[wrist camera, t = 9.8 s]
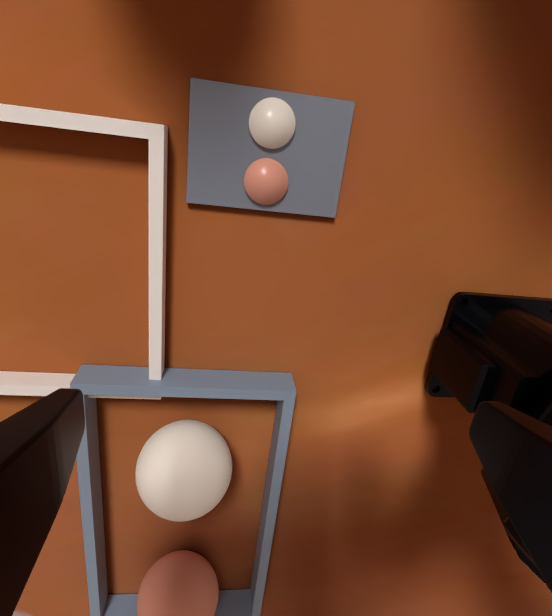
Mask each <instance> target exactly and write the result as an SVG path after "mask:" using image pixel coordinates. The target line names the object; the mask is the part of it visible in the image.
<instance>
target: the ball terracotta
mask: <svg viewBox="0 0 552 616" xmlns="http://www.w3.org/2000/svg"><path fill="white" fill-rule="evenodd" d="M218 596H219V590H218V582H217V577H216V574H215V572H214V570H213V568H212V566H211V565H210V563H209V562H208V561H207V560H206V559H205V558H204V557H203V556H201V555H200V554H198V553H195V552H193V551H189V550H178V551H173V552H171V553H168V554H166V555H164V556H162V557H161V558H160V559H158V560H157V561H156V562H155V563H154V564H153V565H152V566H151V567H150V569H149V570H148V571H147V573H146V574H145V576H144V578H143V580H142V582H141V585H140V588H139V591H138V596H137V615H138V616H214V614H215V611H216V608H217V603H218Z"/></svg>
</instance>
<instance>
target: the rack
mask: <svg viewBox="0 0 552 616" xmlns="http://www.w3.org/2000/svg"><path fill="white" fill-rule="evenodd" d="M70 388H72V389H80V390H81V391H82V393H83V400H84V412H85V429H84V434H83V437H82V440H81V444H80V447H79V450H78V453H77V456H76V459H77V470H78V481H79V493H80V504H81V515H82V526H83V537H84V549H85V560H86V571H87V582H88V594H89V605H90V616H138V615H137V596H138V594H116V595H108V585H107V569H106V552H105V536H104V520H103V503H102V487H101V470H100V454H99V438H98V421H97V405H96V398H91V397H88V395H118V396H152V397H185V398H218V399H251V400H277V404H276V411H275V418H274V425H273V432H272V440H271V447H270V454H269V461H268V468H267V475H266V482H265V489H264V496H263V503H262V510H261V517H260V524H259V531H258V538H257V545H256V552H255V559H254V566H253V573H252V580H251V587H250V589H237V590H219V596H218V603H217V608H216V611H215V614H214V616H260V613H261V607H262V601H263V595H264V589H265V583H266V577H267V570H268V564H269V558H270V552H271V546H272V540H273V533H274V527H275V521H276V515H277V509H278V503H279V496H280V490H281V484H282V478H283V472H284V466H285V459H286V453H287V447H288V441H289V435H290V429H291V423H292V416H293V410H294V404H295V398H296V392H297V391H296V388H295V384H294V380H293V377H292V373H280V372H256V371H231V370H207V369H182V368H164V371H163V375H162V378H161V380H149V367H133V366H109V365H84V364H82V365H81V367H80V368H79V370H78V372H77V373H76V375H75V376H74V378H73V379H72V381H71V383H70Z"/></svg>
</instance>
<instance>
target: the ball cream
mask: <svg viewBox="0 0 552 616" xmlns="http://www.w3.org/2000/svg"><path fill="white" fill-rule="evenodd" d="M135 475H136V485H137V489H138V492H139V495H140V497H141V499H142V501H143V502H144V503H145V505H146V506H147V507H148V508H149V509H150V510H151V511H152V512H153V513H155V514H156V515H157V516H159V517H161V518H164V519H167V520H170V521H177V522H183V521H190V520H194V519H197V518H199V517H201V516H203V515H205V514H207V513H208V512H210V511H211V510H212V509H213V508H214V507H215V506H216V505H217V504H218V503H219V502H220V501H221V499H222V498H223V496H224V495H225V493H226V491H227V489H228V486H229V484H230V481H231V476H232V458H231V453H230V450H229V447H228V445H227V443H226V441H225V439H224V438H223V437H222V435H221V434H220V433H219V432H218V431H217V430H216V429H214V428H213V427H211V426H210V425H208V424H206V423H203V422H200V421H196V420H180V421H175V422H172V423H170V424H167V425H165V426H163V427H162V428H160V429H159V430H158V431H156V432H155V433H154V434H153V435H152V436H151V437H150V438H149V439H148V441H147V442H146V443H145V445H144V446H143V448H142V450H141V452H140V454H139V457H138V460H137V464H136V473H135Z"/></svg>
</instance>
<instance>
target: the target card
mask: <svg viewBox="0 0 552 616" xmlns="http://www.w3.org/2000/svg"><path fill="white" fill-rule="evenodd" d="M354 106H355V102H353V101H346V100H339V99H332V98H326V97H319V96H312V95H305V94H299V93H292V92H285V91H278V90H272V89H265V88H258V87H251V86H245V85H238V84H231V83H224V82H218V81H211V80H204V79H197V78H190V108H189V138H188V169H187V199H186V203H195V204H205V205H215V206H224V207H234V208H244V209H254V210H264V211H274V212H283V213H293V214H303V215H313V216H323V217H332V218H335V216H336V210H337V205H338V199H339V193H340V187H341V181H342V176H343V170H344V164H345V158H346V152H347V147H348V141H349V135H350V129H351V123H352V117H353V112H354Z"/></svg>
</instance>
